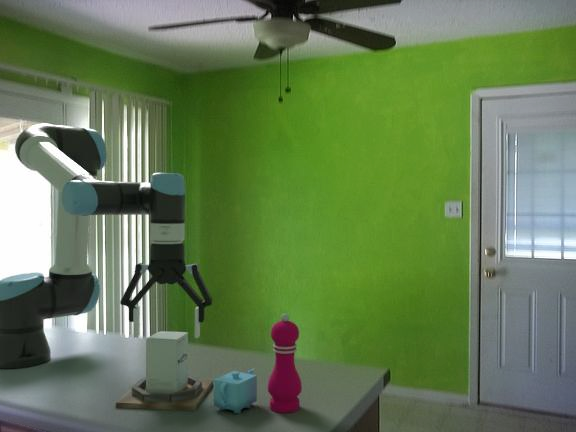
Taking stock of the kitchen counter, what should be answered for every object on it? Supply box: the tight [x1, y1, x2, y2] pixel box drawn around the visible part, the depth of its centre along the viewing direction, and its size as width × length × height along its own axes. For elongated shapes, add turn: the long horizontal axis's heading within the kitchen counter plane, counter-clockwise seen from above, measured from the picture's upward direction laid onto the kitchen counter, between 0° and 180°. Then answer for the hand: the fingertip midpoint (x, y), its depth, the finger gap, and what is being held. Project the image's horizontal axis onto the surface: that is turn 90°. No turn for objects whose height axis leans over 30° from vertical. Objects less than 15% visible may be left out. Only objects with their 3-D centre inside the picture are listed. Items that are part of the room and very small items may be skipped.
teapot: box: [213, 367, 258, 414], centre depth 118 cm, size 12×6×8 cm, turn 149°
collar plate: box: [115, 374, 214, 411], centre depth 125 cm, size 17×17×2 cm
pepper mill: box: [267, 313, 303, 414], centre depth 117 cm, size 7×7×20 cm
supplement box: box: [145, 330, 189, 393], centre depth 125 cm, size 7×7×13 cm
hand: (166, 336), depth 125 cm, fingers open, 13 cm apart
